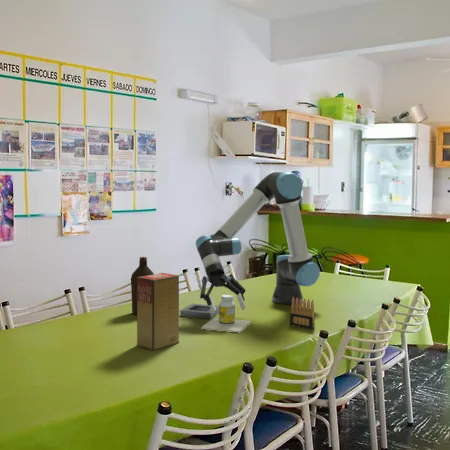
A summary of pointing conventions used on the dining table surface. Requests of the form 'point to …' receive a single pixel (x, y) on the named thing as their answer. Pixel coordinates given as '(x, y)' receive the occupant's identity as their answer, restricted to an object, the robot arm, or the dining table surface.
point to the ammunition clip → (302, 314)
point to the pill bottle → (227, 311)
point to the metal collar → (199, 311)
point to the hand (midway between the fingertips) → (229, 310)
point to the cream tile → (236, 327)
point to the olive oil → (139, 272)
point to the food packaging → (157, 310)
